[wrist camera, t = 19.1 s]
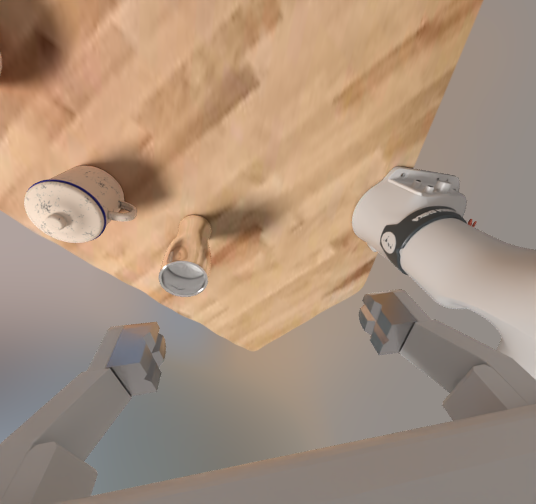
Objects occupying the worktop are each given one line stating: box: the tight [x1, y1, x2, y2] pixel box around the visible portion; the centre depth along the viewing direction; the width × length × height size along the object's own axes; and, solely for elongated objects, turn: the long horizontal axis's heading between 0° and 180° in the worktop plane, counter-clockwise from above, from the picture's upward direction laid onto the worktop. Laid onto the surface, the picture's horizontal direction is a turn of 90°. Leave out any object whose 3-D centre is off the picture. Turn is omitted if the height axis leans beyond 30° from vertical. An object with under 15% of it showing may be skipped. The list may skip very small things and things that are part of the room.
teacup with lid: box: [24, 166, 137, 243], centre depth 34 cm, size 12×9×12 cm
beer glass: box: [159, 215, 211, 297], centre depth 39 cm, size 7×7×15 cm
